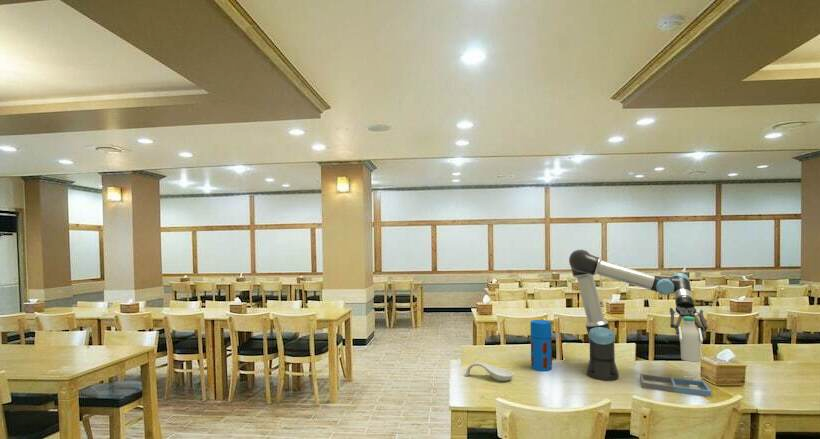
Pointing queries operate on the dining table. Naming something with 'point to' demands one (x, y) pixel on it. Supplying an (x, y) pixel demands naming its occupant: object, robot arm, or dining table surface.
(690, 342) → the milk bottle
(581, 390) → the dining table surface
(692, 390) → the bay frame
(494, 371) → the spoon rest
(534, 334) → the thermos
